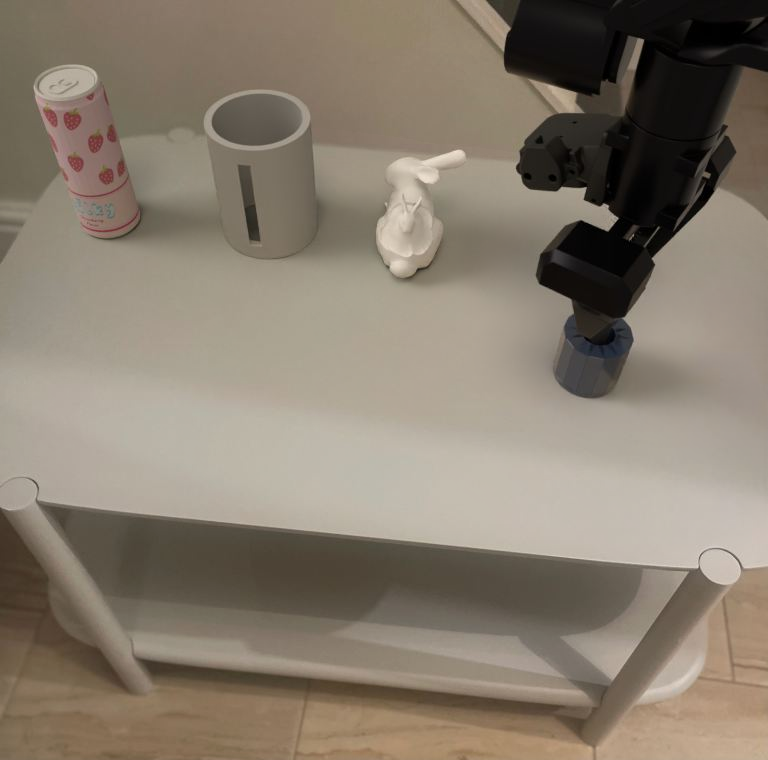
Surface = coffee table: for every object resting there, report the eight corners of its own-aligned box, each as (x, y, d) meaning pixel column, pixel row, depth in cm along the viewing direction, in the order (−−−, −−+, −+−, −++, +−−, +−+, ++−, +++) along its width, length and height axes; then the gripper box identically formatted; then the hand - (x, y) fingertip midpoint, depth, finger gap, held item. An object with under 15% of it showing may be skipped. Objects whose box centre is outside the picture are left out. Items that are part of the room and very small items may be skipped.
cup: (306, 190, 81) (298, 83, 72) (326, 249, 76) (320, 141, 66) (217, 205, 79) (197, 97, 70) (231, 266, 74) (211, 157, 65)
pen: (589, 358, 67) (615, 281, 60) (600, 372, 66) (628, 295, 59) (572, 364, 66) (596, 287, 59) (583, 379, 65) (609, 302, 58)
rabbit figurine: (384, 201, 80) (386, 117, 73) (459, 207, 80) (469, 123, 72) (370, 284, 73) (370, 200, 65) (452, 292, 72) (462, 208, 65)
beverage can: (72, 237, 76) (19, 96, 64) (94, 200, 80) (46, 59, 68) (130, 243, 76) (86, 102, 64) (148, 205, 79) (110, 65, 67)
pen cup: (593, 340, 69) (607, 300, 65) (631, 386, 66) (647, 346, 62) (540, 359, 67) (551, 319, 63) (576, 407, 64) (589, 368, 60)
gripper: (616, 12, 55) (572, 193, 67) (477, 140, 45) (454, 325, 58) (775, 63, 51) (697, 246, 63) (659, 215, 41) (594, 396, 54)
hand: (611, 297), depth 59 cm, fingers open, 9 cm apart
